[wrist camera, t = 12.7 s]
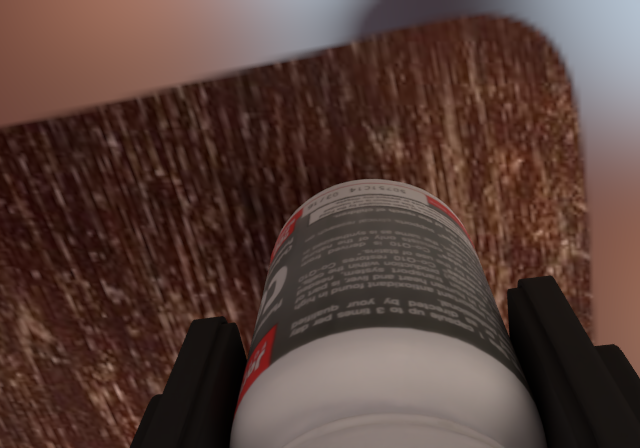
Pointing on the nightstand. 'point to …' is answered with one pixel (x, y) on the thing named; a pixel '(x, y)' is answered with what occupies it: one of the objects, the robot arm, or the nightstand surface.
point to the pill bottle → (381, 333)
